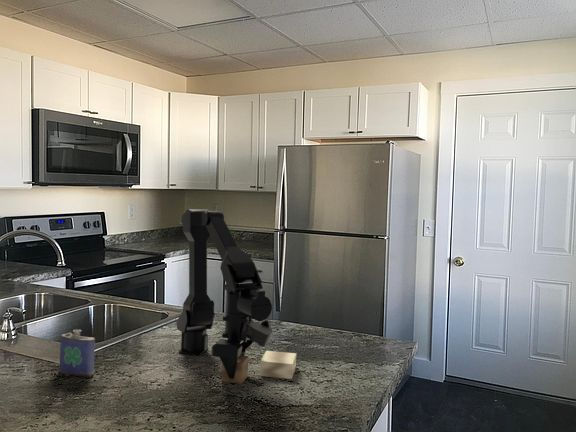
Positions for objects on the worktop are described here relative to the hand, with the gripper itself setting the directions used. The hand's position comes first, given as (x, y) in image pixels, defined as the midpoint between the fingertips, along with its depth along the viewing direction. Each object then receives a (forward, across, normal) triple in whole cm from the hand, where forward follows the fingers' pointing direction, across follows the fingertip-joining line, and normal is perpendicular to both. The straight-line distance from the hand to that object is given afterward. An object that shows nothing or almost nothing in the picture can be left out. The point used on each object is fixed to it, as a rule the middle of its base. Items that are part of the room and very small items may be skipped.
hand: (235, 374), depth 119 cm
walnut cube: (+1, 0, 0) cm, 1 cm away
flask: (+1, -9, +37) cm, 38 cm away
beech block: (+1, +8, -9) cm, 12 cm away
